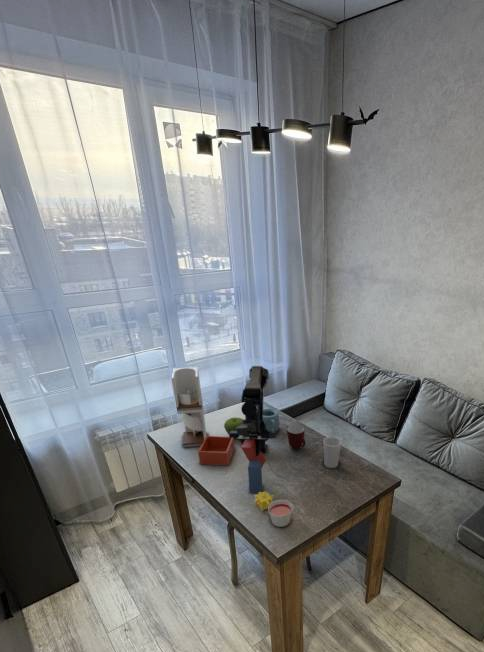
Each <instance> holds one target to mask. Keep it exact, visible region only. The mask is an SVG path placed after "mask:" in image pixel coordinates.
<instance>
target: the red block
mask: <svg viewBox="0 0 484 652" xmlns="http://www.w3.org/2000/svg"><path fill="white" fill-rule="evenodd" d="M240 448H241V450H242V452H243V454H244V455H245V457H246V459H247V461H248V463H249V462H250V461H261V469H263V467H264V465H265V463H266V458H265V455H264V453H262V452H261V451H260V453H259V456H256V441H255V440H250V439H249V438H247V439H245V441H244V443H243V445H242V444H241V447H240Z"/></svg>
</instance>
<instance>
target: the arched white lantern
mask: <svg viewBox="0 0 484 652" xmlns="http://www.w3.org/2000/svg"><path fill="white" fill-rule="evenodd" d="M171 382H172V389H173V395H174V400H175V406H176V414H177V415H181V421H182V424H183V425H184V428H185V429H184V430H185V431H182V432H183V435H182V448H191V447H201V445H202V443H203V441H204V440H205V438H206V436H208V435H207V427H206V419H205V411H204V403H203V395H202V388H201V380H200V374H199V367H198V366H192V367H173V368H172V373H171Z"/></svg>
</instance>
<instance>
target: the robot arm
mask: <svg viewBox="0 0 484 652" xmlns="http://www.w3.org/2000/svg"><path fill="white" fill-rule="evenodd" d="M248 375H249V376H248V377H249V382H248V383H246V384H245V385H244V388H243V389H242V394H241V401H240V402H241V403H243V404H242V406H241V413H242V414H243V415H244V420H243V424H242V425H240V426H238V427H236V429H237V431H231V432H230V433H229V434H228V437H229V438H234V439H236V440H237V441H239V442H240V444H241V446H242V445H243V443H244V441H245V439H250V440H255V441H256V456H259V453H260V451H261V452H262V454H265V453H266V452H267V448H268V444H266V442H267V441H269V439H276V437H277V434H276V432H274V431H268V429H266V424H265V423H264V421H263V410H264V396H265V393H264V392H265V388H266V387H267V385H268V380H269V379H270V372H269V369H267V368H265V367H264V366H262V365H253V366H251V367H250V368H249V373H248ZM237 437H238V438H237Z"/></svg>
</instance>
